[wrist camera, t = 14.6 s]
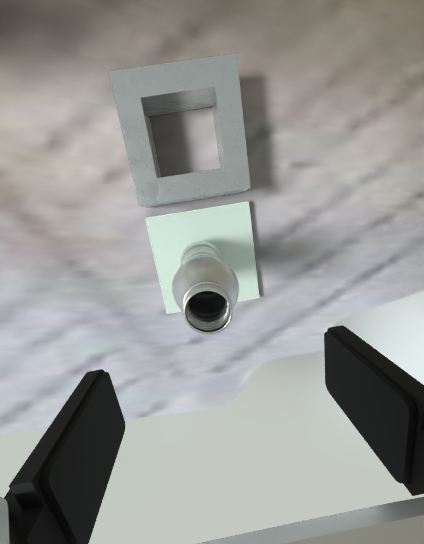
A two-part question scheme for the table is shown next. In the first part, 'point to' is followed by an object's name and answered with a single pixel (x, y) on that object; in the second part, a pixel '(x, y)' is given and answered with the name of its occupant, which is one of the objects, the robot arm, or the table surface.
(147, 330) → the table surface
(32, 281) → the table surface
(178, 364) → the table surface
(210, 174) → the bore block
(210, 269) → the plastic bottle
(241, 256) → the pad
